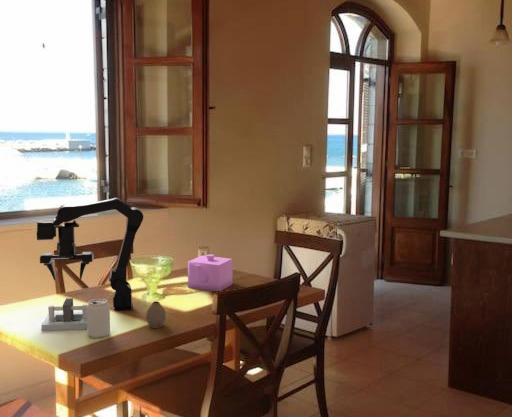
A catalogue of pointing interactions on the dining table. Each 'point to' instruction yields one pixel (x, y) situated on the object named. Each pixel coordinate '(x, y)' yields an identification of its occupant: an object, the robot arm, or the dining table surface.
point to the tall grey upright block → (68, 310)
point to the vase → (156, 315)
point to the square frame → (52, 317)
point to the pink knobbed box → (210, 273)
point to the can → (98, 318)
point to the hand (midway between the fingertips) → (67, 279)
